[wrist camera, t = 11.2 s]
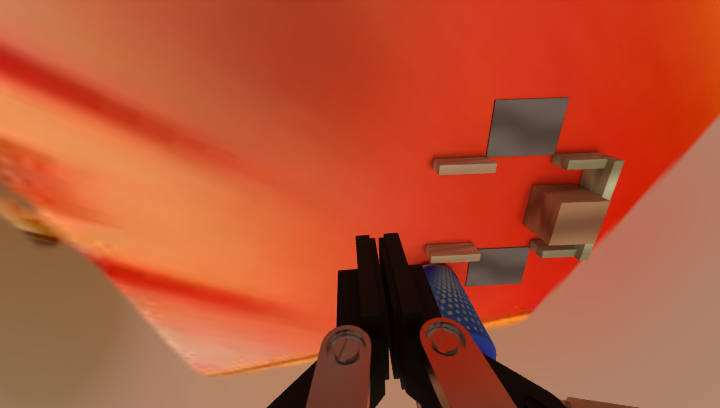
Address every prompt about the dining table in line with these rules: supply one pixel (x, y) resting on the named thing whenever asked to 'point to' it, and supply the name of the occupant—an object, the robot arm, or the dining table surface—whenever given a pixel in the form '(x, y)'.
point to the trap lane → (523, 138)
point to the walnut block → (565, 214)
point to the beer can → (457, 305)
